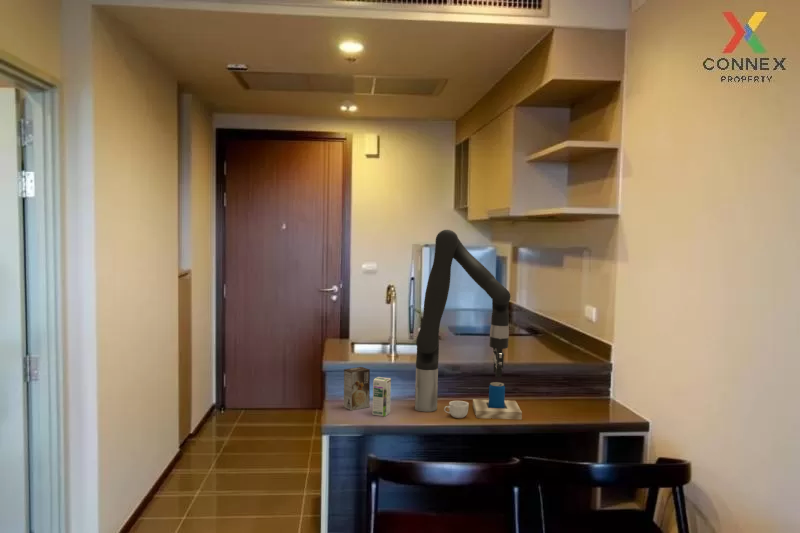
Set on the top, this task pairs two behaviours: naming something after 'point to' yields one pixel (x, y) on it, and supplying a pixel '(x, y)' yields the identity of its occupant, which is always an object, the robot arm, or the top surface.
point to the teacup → (458, 408)
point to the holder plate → (497, 410)
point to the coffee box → (356, 388)
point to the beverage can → (496, 395)
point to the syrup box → (381, 396)
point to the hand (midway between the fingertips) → (497, 375)
